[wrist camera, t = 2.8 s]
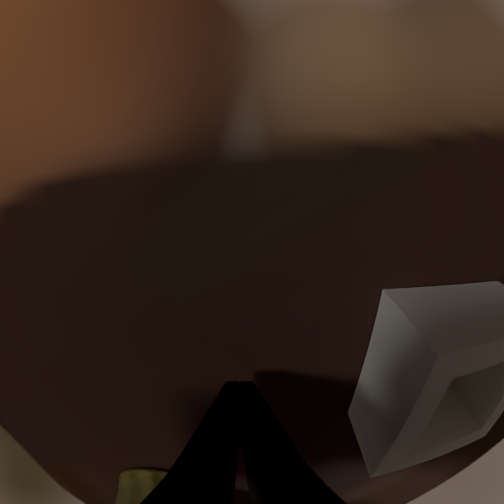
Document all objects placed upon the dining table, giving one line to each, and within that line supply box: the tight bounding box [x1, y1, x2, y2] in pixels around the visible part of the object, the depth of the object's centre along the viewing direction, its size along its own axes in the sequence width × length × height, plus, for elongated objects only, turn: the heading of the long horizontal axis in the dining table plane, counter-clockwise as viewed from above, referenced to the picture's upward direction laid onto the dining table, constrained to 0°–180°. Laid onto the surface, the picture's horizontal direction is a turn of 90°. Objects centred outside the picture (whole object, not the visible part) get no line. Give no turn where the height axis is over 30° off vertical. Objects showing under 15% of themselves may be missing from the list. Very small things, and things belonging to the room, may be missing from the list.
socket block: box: [348, 281, 504, 478], centre depth 9 cm, size 6×6×4 cm
